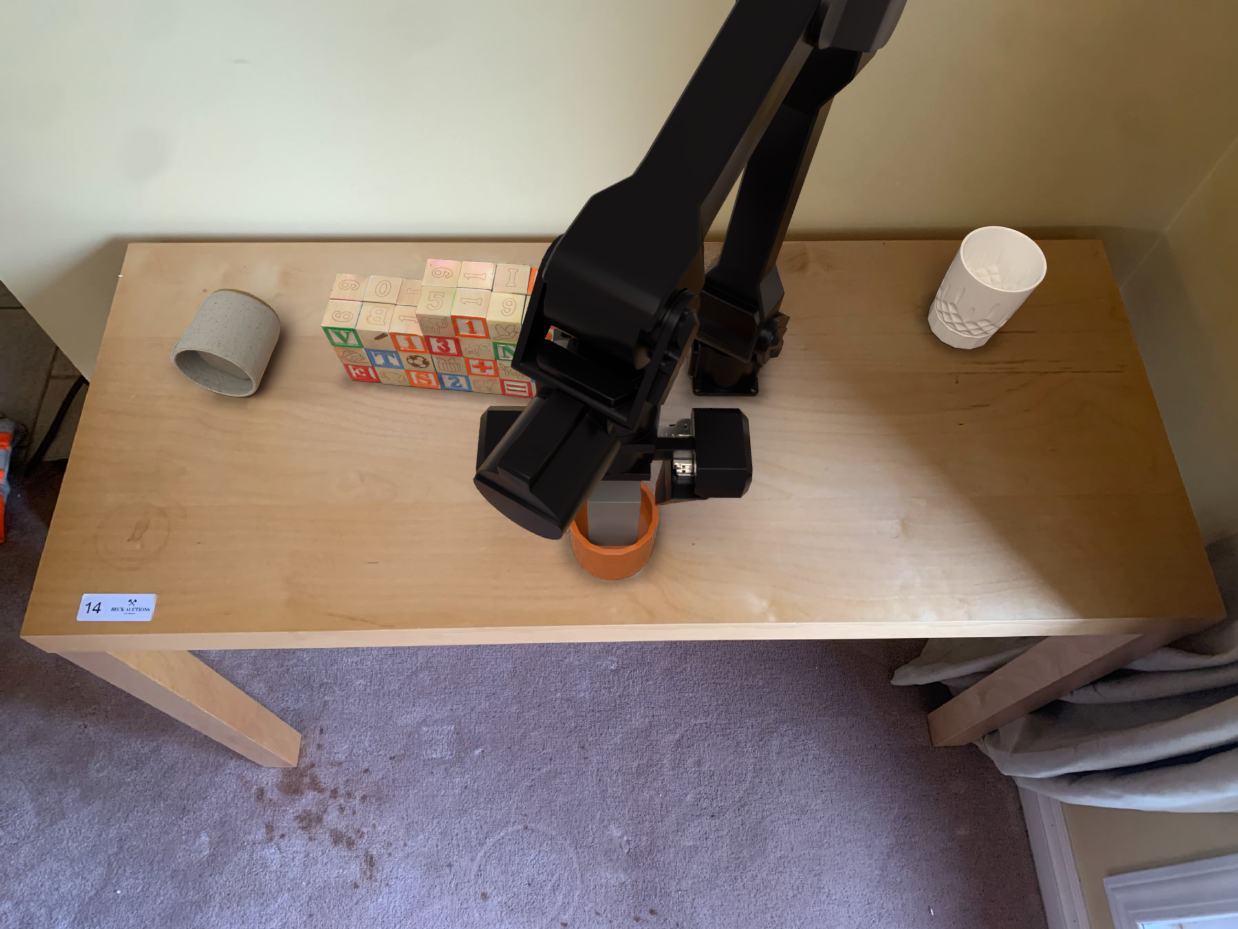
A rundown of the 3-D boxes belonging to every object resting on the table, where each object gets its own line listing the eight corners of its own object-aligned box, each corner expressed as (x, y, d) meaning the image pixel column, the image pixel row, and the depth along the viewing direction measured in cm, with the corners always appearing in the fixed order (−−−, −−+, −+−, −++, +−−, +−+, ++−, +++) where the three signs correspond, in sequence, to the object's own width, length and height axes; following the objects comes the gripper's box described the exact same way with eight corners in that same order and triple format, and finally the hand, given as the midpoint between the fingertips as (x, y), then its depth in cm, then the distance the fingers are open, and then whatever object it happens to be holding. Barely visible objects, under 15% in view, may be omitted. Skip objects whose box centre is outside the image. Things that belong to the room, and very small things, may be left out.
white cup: (1008, 314, 82) (1058, 248, 73) (982, 367, 79) (1030, 305, 70) (938, 281, 84) (978, 213, 75) (909, 332, 81) (947, 267, 72)
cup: (653, 503, 72) (657, 472, 66) (654, 580, 68) (659, 555, 63) (572, 502, 72) (569, 471, 66) (570, 579, 68) (566, 554, 62)
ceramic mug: (296, 333, 79) (265, 284, 73) (269, 401, 76) (234, 356, 69) (196, 322, 80) (156, 272, 73) (165, 389, 76) (120, 343, 70)
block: (636, 502, 67) (640, 454, 59) (636, 545, 66) (640, 502, 57) (590, 501, 67) (587, 454, 59) (589, 545, 65) (586, 502, 57)
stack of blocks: (349, 382, 77) (306, 303, 66) (365, 331, 80) (326, 247, 69) (565, 402, 76) (558, 325, 65) (572, 349, 79) (567, 267, 68)
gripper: (757, 293, 52) (725, 412, 66) (474, 290, 51) (502, 410, 65) (771, 442, 47) (733, 536, 61) (458, 439, 46) (492, 534, 60)
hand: (613, 499), depth 62 cm, fingers open, 7 cm apart
